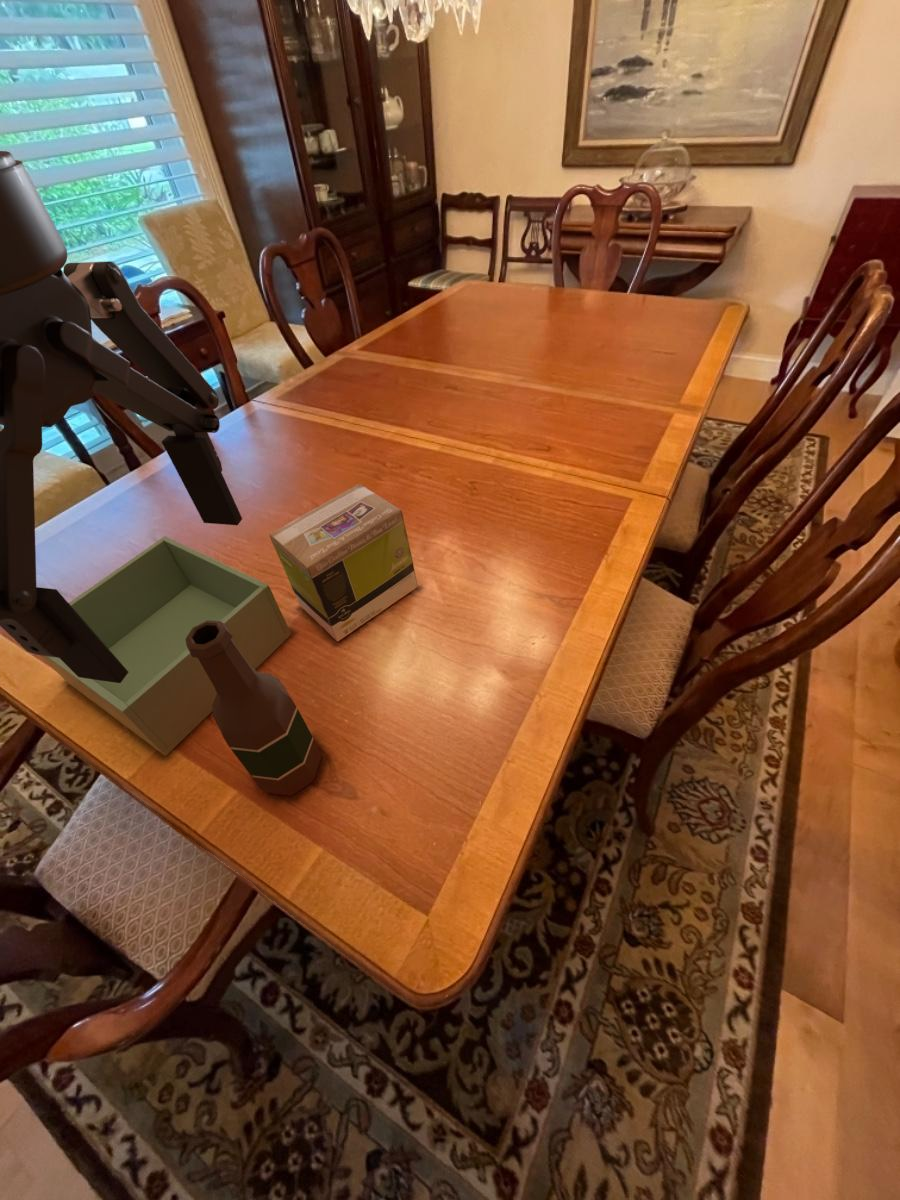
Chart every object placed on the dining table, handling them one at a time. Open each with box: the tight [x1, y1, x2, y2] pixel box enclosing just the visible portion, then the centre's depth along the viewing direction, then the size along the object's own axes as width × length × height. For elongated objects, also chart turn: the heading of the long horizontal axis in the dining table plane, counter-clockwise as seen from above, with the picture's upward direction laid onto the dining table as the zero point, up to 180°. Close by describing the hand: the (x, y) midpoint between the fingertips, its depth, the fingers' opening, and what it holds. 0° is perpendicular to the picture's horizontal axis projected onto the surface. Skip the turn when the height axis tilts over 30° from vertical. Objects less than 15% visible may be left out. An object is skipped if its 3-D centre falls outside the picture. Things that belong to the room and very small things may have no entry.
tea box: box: [268, 483, 419, 642], centre depth 74 cm, size 15×10×15 cm, turn 132°
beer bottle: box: [185, 620, 323, 797], centre depth 53 cm, size 8×8×24 cm
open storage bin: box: [39, 535, 292, 757], centre depth 71 cm, size 22×22×10 cm
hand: (171, 588), depth 34 cm, fingers open, 13 cm apart
